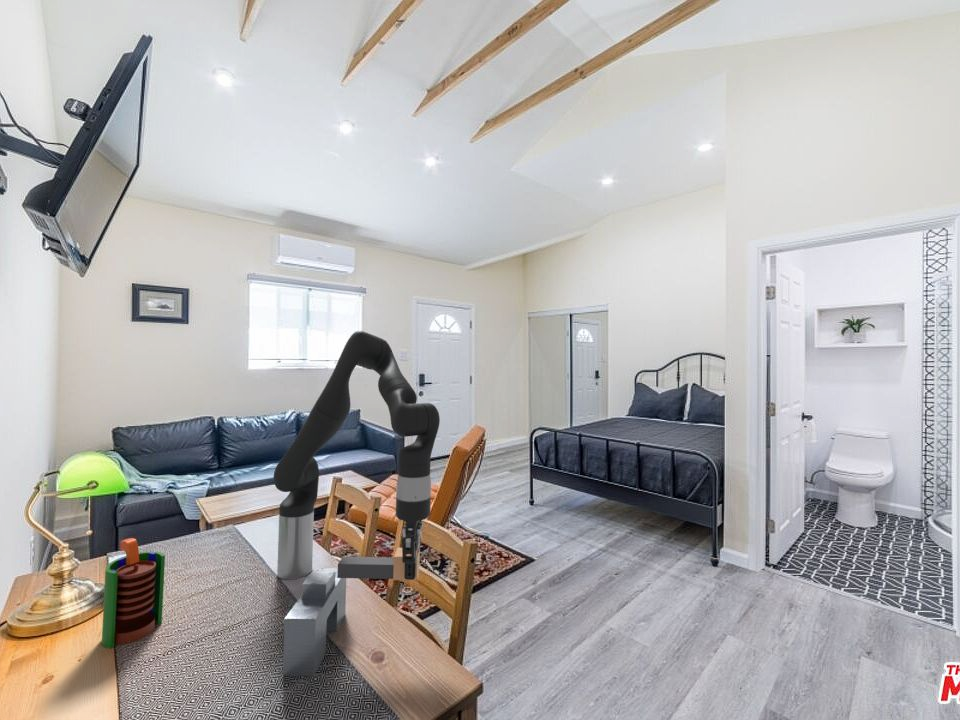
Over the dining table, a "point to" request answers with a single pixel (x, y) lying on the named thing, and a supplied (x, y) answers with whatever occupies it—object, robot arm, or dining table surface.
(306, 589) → the housing
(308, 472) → the robot arm
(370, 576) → the plug
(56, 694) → the dining table surface
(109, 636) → the motor
